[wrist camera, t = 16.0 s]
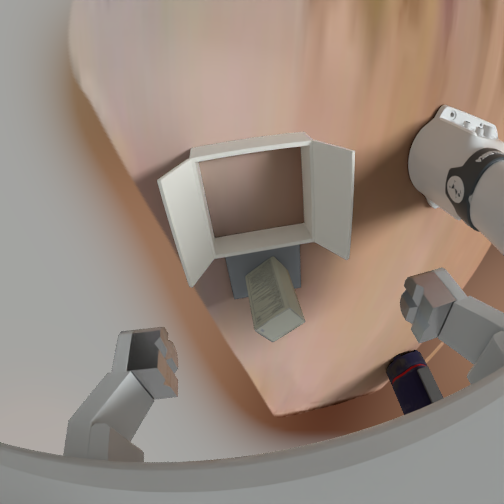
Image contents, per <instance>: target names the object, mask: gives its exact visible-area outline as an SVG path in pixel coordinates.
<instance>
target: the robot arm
mask: <svg viewBox="0 0 504 504" xmlns="http://www.w3.org/2000/svg"><path fill="white" fill-rule="evenodd" d="M450 114H451V116H450ZM408 169H409V175H410V179H411V181H412V183H413V185H414V186H415V188H416V189H417V190H418V191H419V192H421V193H422V194H423V195H425V197H426V199H427V201H428V204H429V205H430V206H431V207H433V208H438V207H440V208H441V209H443V210H444V211H446V212H447V213H448V214H450V215H451V216H452V217H454V218H455V219H457V220H461V219H462V220H463V221H464V222H465V223H466V224H467V225H468V226H470V227H471V228H473V229H474V230H476V231H479V232H481V233H482V234H483V235H484V236H485V237H486V238H487V239H488V240H489V241H490V242H491V243H492V244H493V245H494V246H495V247H496V248H497V249H498V250H499V251H500V252H501V253H502V254H503V255H504V142H502V141H501V140H499V139H498V134H497V129H496V126H495V125H493V124H492V123H490V122H488V121H485V120H483V119H481V118H478V117H476V116H474V115H471V114H469V113H466V112H464V111H461V110H458V109H456V108H453V107H450V106H448V105H443V106H441V107H440V109H439V110H438V112H437V114H436V115H435V117H434V118H433V119H432V120H431V121H430V122H429V123H428V124H426V125H425V126H424V127H423V128H422V129H421V130H420V132H419V133H418V134H417V136H416V138H415V139H414V141H413V144H412V146H411V149H410V153H409V160H408ZM404 287H405V288H406V290H405V292H404V293H403V294H402V295H401V300H400V307H401V312H402V314H403V316H404V318H405V320H406V321H408V322H410V323H412V327H411V330H412V332H413V334H414V335H415V337H416V339H417V341H418V342H419V343H422V342H425V341H428V340H431V339H433V338H437V337H438V339H440V340H441V341H443V342H444V343H445V344H447V345H448V346H449V347H451V348H452V349H454V350H455V351H457V352H458V353H459V354H460V355H462V356H463V357H464V358H466V359H468V360H469V361H470V362H471V363H473V364H474V366H473V367H472V368H471V370H470V371H469V373H468V376H467V378H468V380H469V382H470V383H471V385H470V386H468V387H466V388H464V389H462V390H460V391H458V392H456V393H454V394H452V395H450V396H448V397H445V398H443V399H441V400H439V401H437V402H435V403H432V404H430V405H428V406H425V407H423V408H421V409H418V410H416V411H414V412H411V413H409V414H406V415H404V416H401V417H398V418H396V419H393V420H390V421H388V422H385V423H382V424H379V425H376V426H373V427H370V428H367V429H364V430H361V431H358V432H354V433H351V434H348V435H345V436H341V437H337V438H334V439H329V440H326V441H322V442H318V443H314V444H309V445H305V446H301V447H296V448H291V449H286V450H281V451H275V452H270V453H263V454H257V455H251V456H243V457H235V458H227V459H216V460H204V461H188V462H144V452H143V451H142V450H141V449H139V448H138V447H137V446H135V445H134V444H132V443H131V440H132V438H133V436H134V435H135V433H136V431H137V430H138V428H139V426H140V424H141V423H142V421H143V419H144V417H145V416H146V414H147V412H148V411H149V409H150V407H151V406H152V404H153V402H154V400H153V399H162V398H172V397H178V379H177V378H176V376H175V374H174V373H175V372H176V371H177V369H178V358H177V352H176V349H175V346H174V344H173V342H171V341H170V340H168V333H167V331H166V329H165V328H164V327H158V328H149V329H139V330H131V331H122V332H120V334H119V335H118V340H117V345H116V350H115V356H114V361H113V366H112V372H111V373H107V374H106V376H105V377H104V378H103V379H102V380H101V382H100V383H99V384H98V385H97V386H96V388H95V389H94V390H93V391H92V393H91V394H90V395H89V396H88V397H87V399H86V400H85V401H84V402H83V404H82V405H81V406H80V407H79V408H78V410H77V411H76V412H75V413H74V415H73V416H72V417H71V418H70V420H69V421H68V427H67V434H66V440H65V448H64V455H63V456H62V455H56V454H50V453H44V452H39V451H34V450H29V449H25V448H20V447H16V446H12V445H8V444H4V443H1V442H0V504H504V313H503V312H500V311H499V310H497V309H495V308H493V307H491V306H489V305H487V304H485V303H483V302H481V301H479V300H477V299H475V298H473V297H471V296H469V297H467V296H466V294H465V293H464V292H463V291H462V289H461V288H460V287H459V285H458V284H457V283H456V282H455V280H454V279H453V278H452V277H451V276H450V274H449V273H448V272H447V271H446V270H445V269H444V268H439V269H435V270H432V271H428V272H424V273H421V274H417V275H414V276H410V277H408V278H407V279H406V280H405V284H404Z"/></svg>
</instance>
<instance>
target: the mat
mask: <svg viewBox="0 0 504 504" xmlns="http://www.w3.org/2000/svg"><path fill="white" fill-rule="evenodd" d="M272 256H274V257H275V258H276V259H277V260H278V261H279V262H280V263H281V264H282V265H283V266H284V267H285V268H286V269H287V270H288V273H289V275H290V278H291V281H292V284H293V287H294V289H295V288H300V287H301V275H300V244H299V245H293V246H288V247H282V248H276V249H270V250H264V251H258V252H253V253H247V254H241V255H235V256H229V257H225V258H226V263H227V268H228V272H229V277H230V281H231V286H232V290H233V295H234V299H239V298H245V297H249V296H248V290H247V285H246V279H245V276H246V275H247V274H249V273H250V272H251V271H253V270H254V269H255V268H257V267H258V266H260V265H261V264H262V263H264V262H265V261H266V260H268V259H269V258H271V257H272Z"/></svg>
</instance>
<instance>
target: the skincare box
mask: <svg viewBox="0 0 504 504" xmlns="http://www.w3.org/2000/svg"><path fill="white" fill-rule="evenodd" d="M245 279H246V285H247V290H248V296H249V302H250V307H251V313H252V318H253V324H254V330H255V331H256V332H257V333H259V334H260V335H262V336H263V337H265V338H266V339H268V340H270V341H271V342H274V341H276V340H278V339H279V338H281V337H283V336H284V335H286V334H287V333H289V332H291V331H292V330H294V329H295V328H297V327H298V326H300V325H301V324H303V323H304V322H305V319H304V316H303V313H302V310H301V307H300V304H299V301H298V298H297V296H296V293H295V290H294V287H293V284H292V281H291V278H290V275H289V273H288V270H287V269H286V268H285V267H284V266H283V265H282V264H281V263H280V262H279V261H278V260H277V259H276V258H275V257H274V256H272V257H271V258H269V259H268V260H266V261H265V262H264V263H262V264H261V265H260V266H258V267H257V268H255V269H254V270H253V271H251V272H250V273H249V274H247V275H246V276H245Z"/></svg>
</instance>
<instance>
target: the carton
mask: <svg viewBox="0 0 504 504" xmlns="http://www.w3.org/2000/svg"><path fill="white" fill-rule="evenodd" d="M299 146H301V163H302V182H303V205H304V223H301V224H295V225H288V226H282V227H276V228H270V229H264V230H258V231H252V232H246V233H240V234H235V235H229V236H223V237H217V238H215V237H214V232H213V228H212V223H211V219H210V214H209V210H208V205H207V200H206V196H205V191H204V186H203V181H202V177H201V172H200V167H199V162H200V161H205V160H211V159H216V158H222V157H228V156H234V155H240V154H247V153H253V152H260V151H267V150H275V149H282V148H290V147H299ZM354 165H355V151H354V150H351V149H347V148H344V147H340V146H337V145H333V144H329V143H325V142H321V141H318V140H313V139H312V138H311V137H310V136H308V135H307V134H306V133H305V132H294V133H285V134H277V135H269V136H261V137H254V138H247V139H240V140H234V141H228V142H222V143H216V144H211V145H205V146H200V147H195V148H191V151H190V157H189V159H186V160H185V161H184V162H182V163H181V164H179V165H178V166H176V167H175V168H173V169H172V170H171V171H169V172H168V173H166V174H165V175H164V176H162V177H161V178H159V179H158V180H157V182H158V186H159V190H160V193H161V197H162V200H163V204H164V207H165V211H166V214H167V218H168V221H169V224H170V228H171V231H172V234H173V238H174V241H175V244H176V247H177V251H178V254H179V257H180V260H181V263H182V266H183V269H184V272H185V275H186V278H187V281H188V284H189V287H192V288H193V286H194V285H195V284H196V282H197V281H198V280H199V278H200V277H201V276H202V274H203V273H204V272H205V271H206V269H207V268H208V267H209V265H210V264H211V263H212V261H213V260H214V259H218V258H223V257H229V256H235V255H241V254H247V253H253V252H258V251H264V250H270V249H276V248H282V247H288V246H293V245H299V244H305V243H311V242H315V243H317V244H319V245H321V246H322V247H324V248H326V249H328V250H330V251H331V252H333V253H335V254H337V255H338V256H340V257H342V258H344V259H345V260H348V259H349V254H350V242H351V229H352V214H353V195H354Z"/></svg>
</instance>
